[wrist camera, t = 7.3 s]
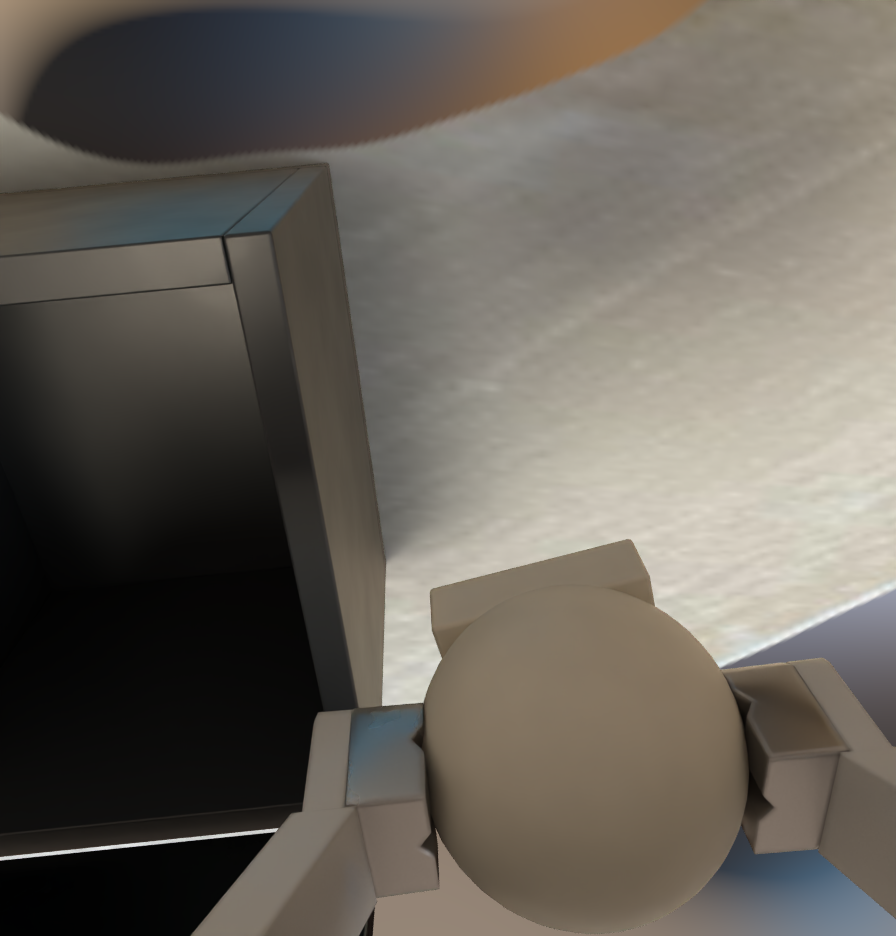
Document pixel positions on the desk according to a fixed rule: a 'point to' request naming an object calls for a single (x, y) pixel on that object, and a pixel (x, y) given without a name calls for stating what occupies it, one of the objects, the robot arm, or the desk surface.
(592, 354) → the desk surface
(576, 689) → the beige rounded piece
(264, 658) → the waste bin
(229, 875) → the bin lid
